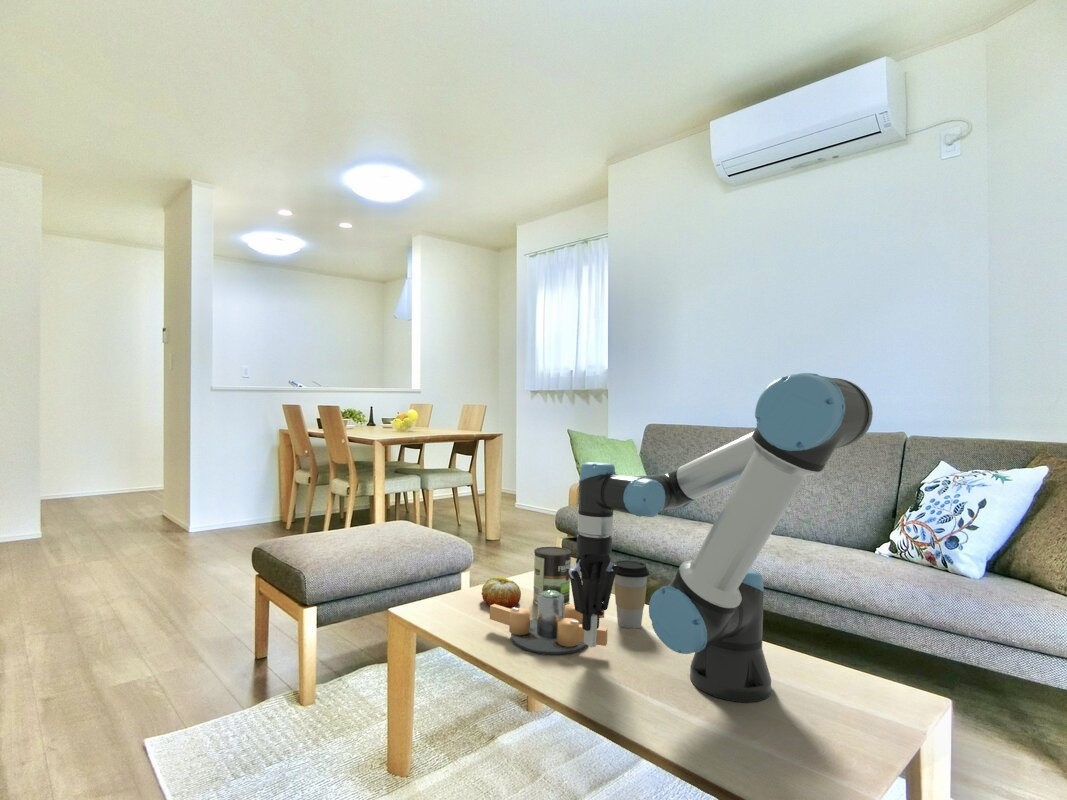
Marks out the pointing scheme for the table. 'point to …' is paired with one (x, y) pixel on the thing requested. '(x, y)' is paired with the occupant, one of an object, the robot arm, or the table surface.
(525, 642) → the base
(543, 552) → the coffee can
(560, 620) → the knob
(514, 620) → the knob
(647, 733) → the table surface
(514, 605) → the fruit
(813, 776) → the table surface
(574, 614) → the knob
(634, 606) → the coffee cup
